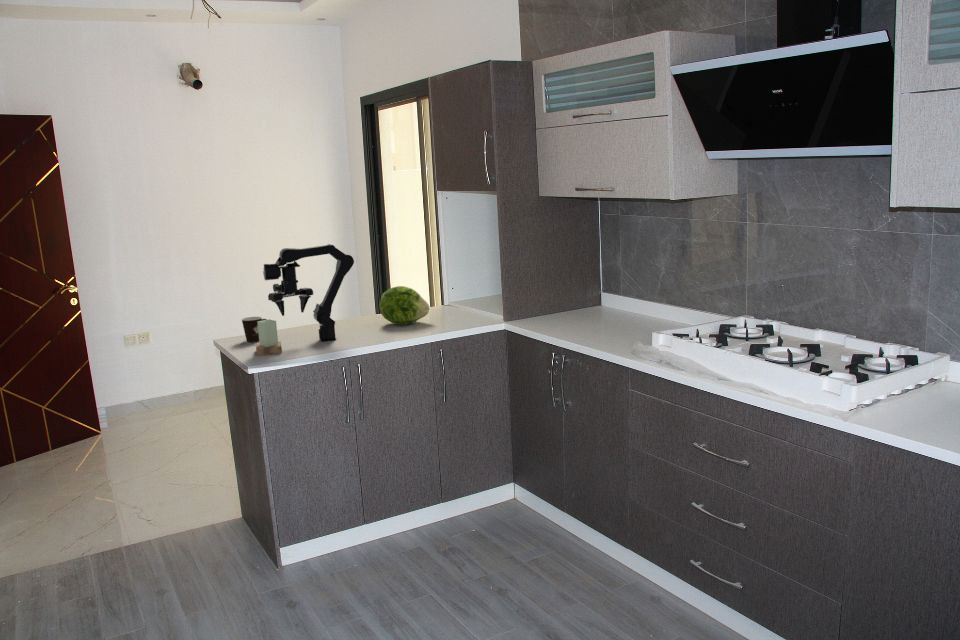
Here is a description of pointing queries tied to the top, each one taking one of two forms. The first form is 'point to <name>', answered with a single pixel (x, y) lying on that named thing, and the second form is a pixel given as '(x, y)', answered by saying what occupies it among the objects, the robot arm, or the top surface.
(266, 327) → the tea tin
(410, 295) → the lettuce
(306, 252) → the robot arm
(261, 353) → the walnut block
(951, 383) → the top surface
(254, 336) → the coffee mug
